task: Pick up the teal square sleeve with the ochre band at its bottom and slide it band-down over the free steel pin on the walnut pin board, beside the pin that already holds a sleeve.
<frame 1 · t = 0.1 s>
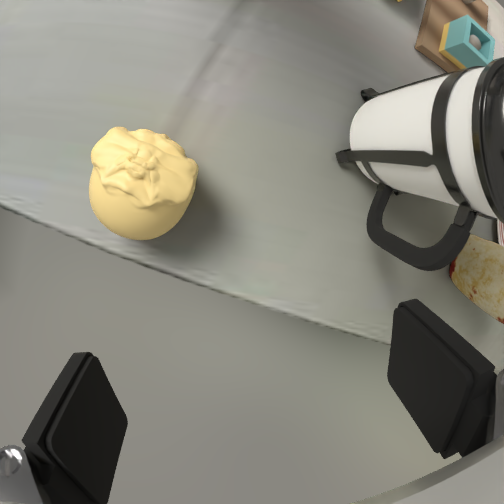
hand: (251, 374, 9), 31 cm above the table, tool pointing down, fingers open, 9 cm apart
coffee press: (380, 151, 38), on the table
seated sleeve: (455, 48, 32), point 2 cm above the table, touching pin board
pin board: (453, 24, 32), on the table
sculpture: (151, 181, 37), on the table
food model: (458, 259, 44), on the table
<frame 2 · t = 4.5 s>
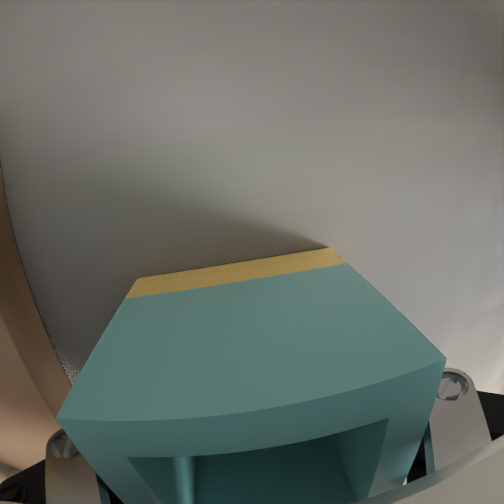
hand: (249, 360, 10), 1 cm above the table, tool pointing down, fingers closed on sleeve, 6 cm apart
sleeve: (247, 346, 10), on the table, touching gripper
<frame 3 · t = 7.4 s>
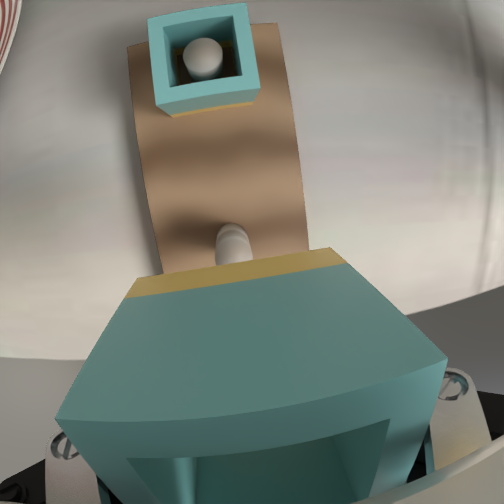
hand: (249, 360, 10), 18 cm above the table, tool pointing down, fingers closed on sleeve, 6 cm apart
seated sleeve: (206, 74, 21), point 2 cm above the table, touching pin board
sleeve: (247, 346, 10), point 17 cm above the table, touching gripper
pin board: (219, 155, 25), on the table
when the fingers open (4 cm above the table, at t = 10.4 s): sleeve drops 1 cm, resting on pin board.
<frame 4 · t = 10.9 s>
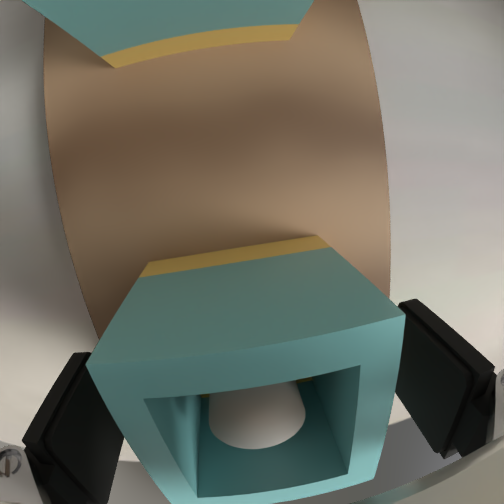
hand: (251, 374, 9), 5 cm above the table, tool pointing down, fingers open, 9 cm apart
sleeve: (245, 324, 12), point 2 cm above the table, touching pin board
pin board: (216, 148, 12), on the table
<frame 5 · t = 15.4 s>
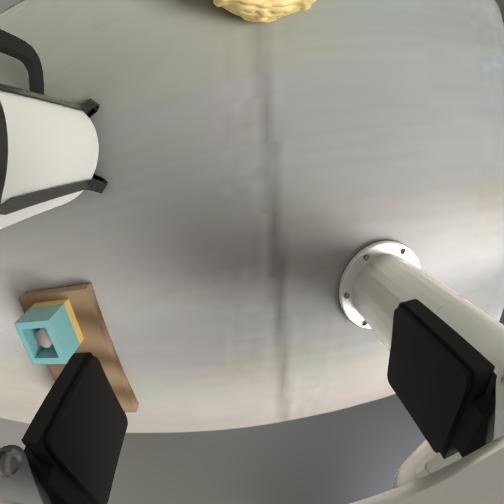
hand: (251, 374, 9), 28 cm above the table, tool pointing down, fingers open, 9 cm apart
coffee press: (61, 144, 32), on the table
seated sleeve: (59, 320, 36), point 2 cm above the table, touching pin board
pin board: (80, 352, 40), on the table
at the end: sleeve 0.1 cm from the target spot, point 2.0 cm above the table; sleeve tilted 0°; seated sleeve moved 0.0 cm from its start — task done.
